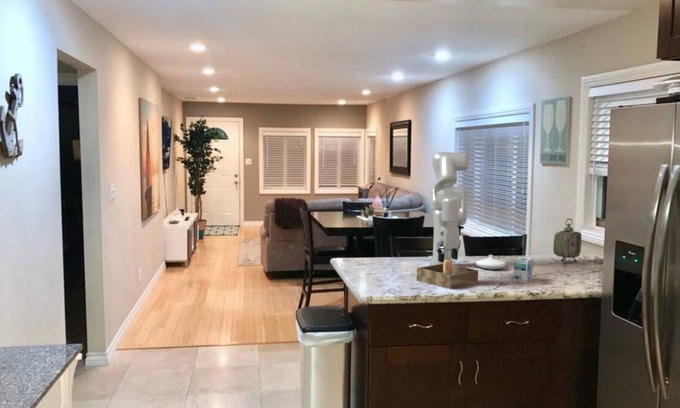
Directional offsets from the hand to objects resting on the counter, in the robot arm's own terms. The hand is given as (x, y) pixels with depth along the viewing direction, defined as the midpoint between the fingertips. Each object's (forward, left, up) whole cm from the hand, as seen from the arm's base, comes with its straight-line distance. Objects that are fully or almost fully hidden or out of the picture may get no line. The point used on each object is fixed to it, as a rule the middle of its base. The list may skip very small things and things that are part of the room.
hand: (447, 260), depth 266 cm
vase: (-7, +44, -10) cm, 45 cm away
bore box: (0, 0, -10) cm, 10 cm away
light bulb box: (+19, +33, -10) cm, 39 cm away
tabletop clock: (+8, +94, -10) cm, 95 cm away
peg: (0, 0, -10) cm, 10 cm away
